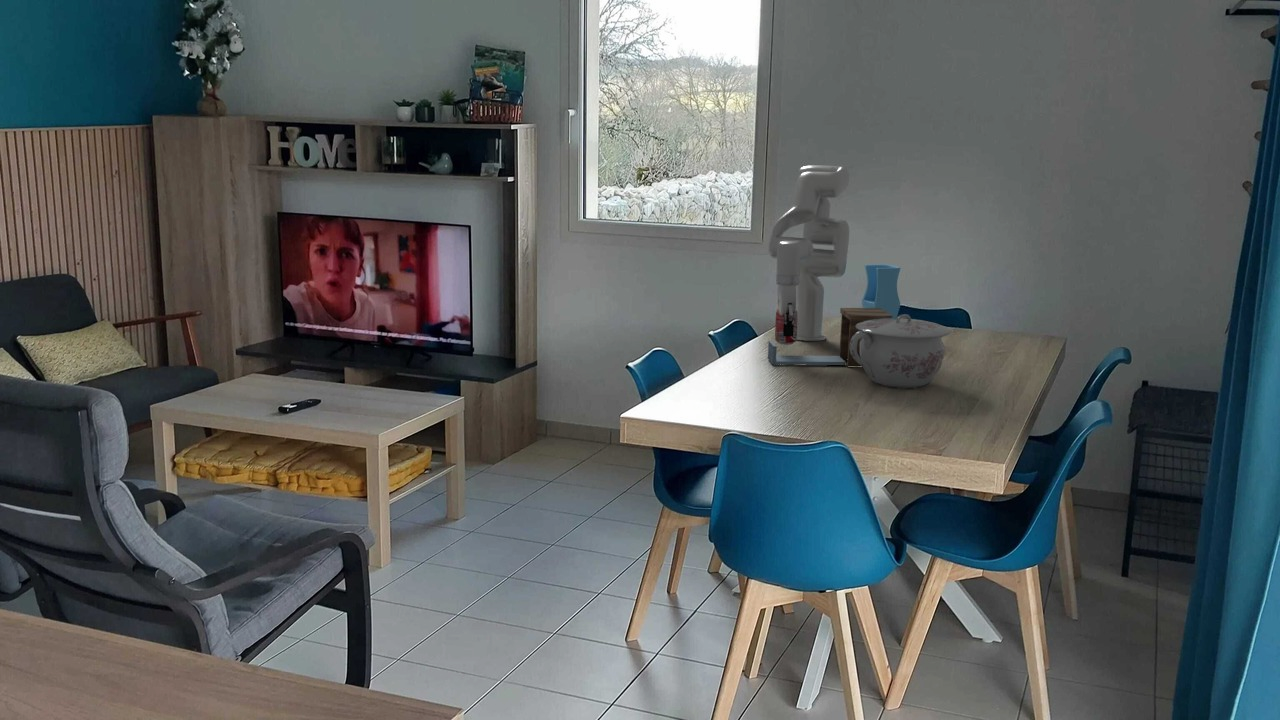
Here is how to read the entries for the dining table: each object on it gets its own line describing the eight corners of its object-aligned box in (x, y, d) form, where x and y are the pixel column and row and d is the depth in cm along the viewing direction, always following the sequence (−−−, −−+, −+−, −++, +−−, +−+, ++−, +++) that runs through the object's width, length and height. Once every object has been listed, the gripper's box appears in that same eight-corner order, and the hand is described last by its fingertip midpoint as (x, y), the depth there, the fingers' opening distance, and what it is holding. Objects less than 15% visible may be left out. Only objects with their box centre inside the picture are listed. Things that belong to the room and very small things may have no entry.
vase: (859, 333, 414) (864, 264, 409) (884, 332, 417) (888, 264, 411) (873, 338, 405) (877, 268, 399) (897, 337, 408) (902, 267, 402)
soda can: (796, 340, 376) (797, 304, 373) (796, 345, 370) (798, 309, 367) (774, 340, 377) (775, 304, 374) (774, 345, 370) (776, 308, 367)
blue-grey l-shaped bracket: (767, 359, 366) (768, 340, 365) (838, 359, 368) (839, 341, 366) (772, 365, 357) (773, 346, 356) (845, 365, 359) (846, 346, 358)
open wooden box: (837, 358, 370) (840, 307, 367) (877, 358, 371) (880, 308, 367) (847, 367, 356) (851, 315, 353) (888, 368, 357) (892, 315, 354)
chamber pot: (947, 377, 347) (953, 309, 343) (946, 397, 321) (952, 325, 317) (854, 369, 354) (858, 303, 350) (845, 389, 328) (849, 318, 324)
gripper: (771, 274, 376) (770, 327, 381) (781, 284, 359) (779, 339, 364) (794, 274, 377) (792, 327, 381) (804, 284, 360) (802, 339, 364)
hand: (786, 333), depth 372 cm, fingers closed on soda can, 6 cm apart
